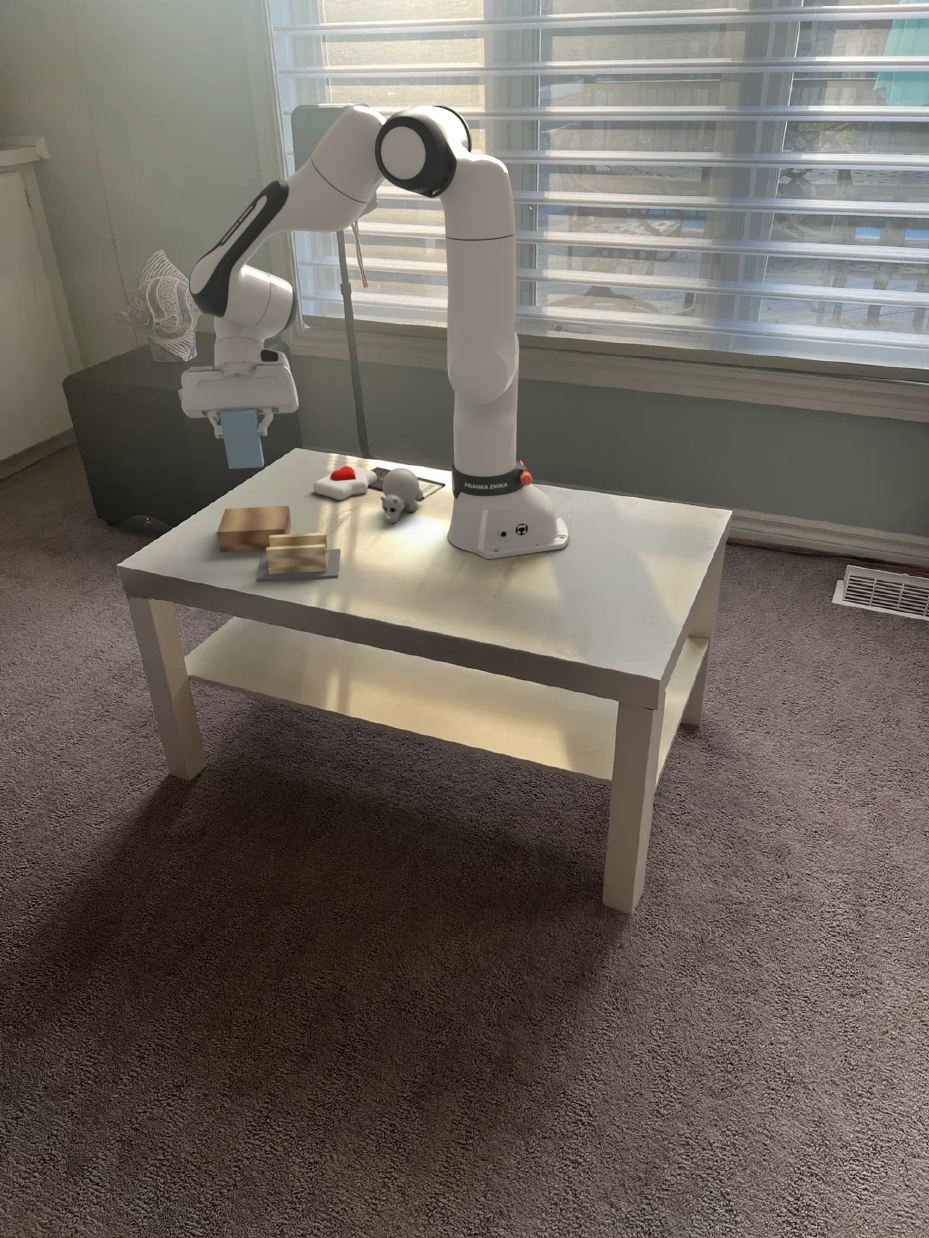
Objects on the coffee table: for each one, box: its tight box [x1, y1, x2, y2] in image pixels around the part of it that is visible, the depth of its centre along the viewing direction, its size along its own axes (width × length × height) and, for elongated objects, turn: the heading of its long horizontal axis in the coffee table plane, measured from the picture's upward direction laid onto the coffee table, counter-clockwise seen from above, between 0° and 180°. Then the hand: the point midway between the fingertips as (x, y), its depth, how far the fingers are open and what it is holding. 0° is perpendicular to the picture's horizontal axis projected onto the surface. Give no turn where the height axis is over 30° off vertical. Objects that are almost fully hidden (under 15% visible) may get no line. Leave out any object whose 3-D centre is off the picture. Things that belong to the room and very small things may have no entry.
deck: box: [216, 505, 292, 552], centre depth 172 cm, size 12×10×4 cm
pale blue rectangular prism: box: [219, 409, 265, 470], centre depth 162 cm, size 6×2×10 cm, turn 94°
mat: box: [255, 548, 341, 582], centre depth 163 cm, size 14×10×1 cm
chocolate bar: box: [367, 466, 446, 502], centre depth 193 cm, size 9×1×18 cm
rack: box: [265, 532, 329, 574], centre depth 162 cm, size 10×7×5 cm, turn 94°
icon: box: [313, 464, 377, 501], centre depth 191 cm, size 12×4×10 cm
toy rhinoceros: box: [380, 467, 423, 524], centre depth 179 cm, size 7×12×8 cm, turn 159°
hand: (241, 435), depth 161 cm, fingers closed on pale blue rectangular prism, 6 cm apart
